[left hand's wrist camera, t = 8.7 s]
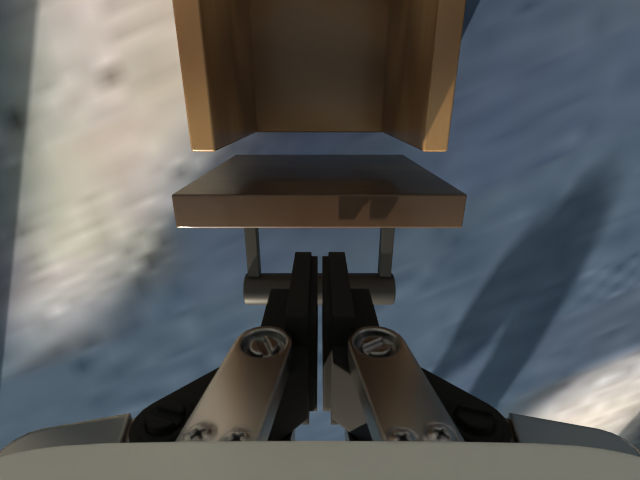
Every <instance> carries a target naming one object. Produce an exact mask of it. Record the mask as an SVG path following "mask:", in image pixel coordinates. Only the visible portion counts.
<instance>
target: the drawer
mask: <svg viewBox="0 0 640 480" xmlns="http://www.w3.org/2000/svg"><path fill="white" fill-rule="evenodd" d="M172 1H173V9H174V17H175V25H176V32H177V40H178V48H179V56H180V64H181V72H182V80H183V87H184V95H185V103H186V111H187V119H188V127H189V135H190V142H191V149H192V151H216V150H218V149H220V148H222V147H224V146H227V145H229V144H231V143H233V142H235V141H238V140H240V139H242V138H244V137H246V136H249V135H251V134H253V133H255V132H384V133H386V134H388V135H390V136H392V137H394V138H397V139H399V140H401V141H403V142H405V143H408V144H410V145H412V146H414V147H416V148H418V149H421V150H423V151H447V147H448V139H449V132H450V124H451V116H452V108H453V100H454V92H455V84H456V76H457V68H458V60H459V52H460V44H461V36H462V28H463V20H464V12H465V4H466V0H172ZM466 197H467V195H466V194H465V193H463V192H461V191H460V190H458V189H457V188H455V187H453V186H452V185H450V184H449V183H447V182H445V181H444V180H442V179H441V178H439V177H437V176H436V175H434V174H433V173H431V172H429V171H428V170H426V169H425V168H423V167H421V166H420V165H418V164H416V163H415V162H413V161H412V160H410V159H408V158H407V157H405V156H404V155H235V156H234V157H232V158H230V159H229V160H227V161H226V162H224V163H222V164H221V165H219V166H218V167H216V168H214V169H213V170H211V171H210V172H208V173H206V174H205V175H203V176H201V177H200V178H198V179H197V180H195V181H193V182H192V183H190V184H189V185H187V186H185V187H184V188H182V189H181V190H179V191H177V192H176V193H174V194H173V195H172V200H173V206H174V213H175V219H176V226H177V228H244V231H245V243H246V255H247V268H248V273H247V274H246V276H245V279H244V287H243V295H244V301H245V304H247V305H267V302H268V298H269V294H270V290H271V289H289V288H290V282H291V276H292V273H261V264H260V248H259V233H258V228H381V230H380V245H379V261H378V273H348V276H349V282H350V288H351V289H369V291H370V294H371V298H372V302H373V305H392V304H394V301H395V293H396V289H395V279H394V276H393V274H392V273H391V267H392V255H393V242H394V230H395V228H461V227H462V224H463V217H464V210H465V204H466ZM318 305H322V273H318Z"/></svg>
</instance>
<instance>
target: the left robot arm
mask: <svg viewBox="0 0 640 480" xmlns="http://www.w3.org/2000/svg"><path fill="white" fill-rule="evenodd" d="M317 348H318V261H317V256H311V252H295V258H294V264H293V270H292V276H291V282H290V288H289V289H271V290H270V294H269V298H268V302H267V305H266V309H265V313H264V317H263V320H262V324H261V327H255V328H252V329H250V330H247V331H245V332H244V333H242V334H241V335H240V336H239V337H238V338H237V339H236V341H235V342H234V344H233V346H232V347H231V349H230V351H229V352H228V354H227V356H226V357H225V359H224V361H223V362H222V364H221V366H220V367H219V368H217V369H215V370H213V371H211V372H210V373H208V374H206V375H204V376H202V377H200V378H199V379H197V380H195V381H193V382H191V383H189V384H188V385H186V386H184V387H182V388H180V389H178V390H177V391H175V392H173V393H171V394H169V395H167V396H166V397H164V398H162V399H160V400H158V401H156V402H155V403H153V404H151V405H150V406H148V407H147V408H145V409H144V410H143V411H142V412H141V413H140V414H139V415H138V416H137V417H136V418H133V419H132V417H131V413H128V414H122V415H116V416H111V417H105V418H100V419H94V420H88V421H83V422H77V423H72V424H66V425H61V426H55V427H49V428H44V429H40V430H36V431H33V432H29V433H27V434H25V435H23V436H21V437H19V438H17V439H15V440H13V441H12V442H11V443H9V444H8V445H7V446H6V447H4V448H3V449H2V450H1V451H0V480H640V451H639V450H638V449H637V448H636V447H634V446H633V445H632V444H631V443H629V442H628V441H627V440H625V439H623V438H621V437H619V436H617V435H615V434H613V433H611V432H607V431H604V430H600V429H596V428H591V427H585V426H579V425H574V424H568V423H563V422H557V421H552V420H546V419H540V418H535V417H529V416H524V415H518V414H512V413H509V417H508V419H507V418H504V417H503V416H502V415H501V414H500V413H499V412H498V411H497V410H496V409H495V408H493V407H492V406H490V405H489V404H487V403H485V402H484V401H482V400H480V399H478V398H476V397H474V396H473V395H471V394H469V393H467V392H465V391H463V390H462V389H460V388H458V387H456V386H454V385H452V384H451V383H449V382H447V381H445V380H443V379H441V378H440V377H438V376H436V375H434V374H432V373H430V372H429V371H427V370H425V369H423V368H421V367H420V366H419V364H418V362H417V361H416V359H415V357H414V356H413V354H412V352H411V351H410V349H409V347H408V346H407V344H406V342H405V341H404V339H403V338H402V337H401V336H400V335H399V334H398V333H396V332H395V331H393V330H390V329H388V328H385V327H379V324H378V320H377V317H376V313H375V309H374V305H373V302H372V298H371V294H370V291H369V289H351V288H350V282H349V276H348V270H347V264H346V258H345V252H329V256H323V261H322V348H323V411H331V424H340V425H341V426H342V427H344V428H345V441H295V428H296V427H298V426H299V425H300V424H309V411H317Z"/></svg>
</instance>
